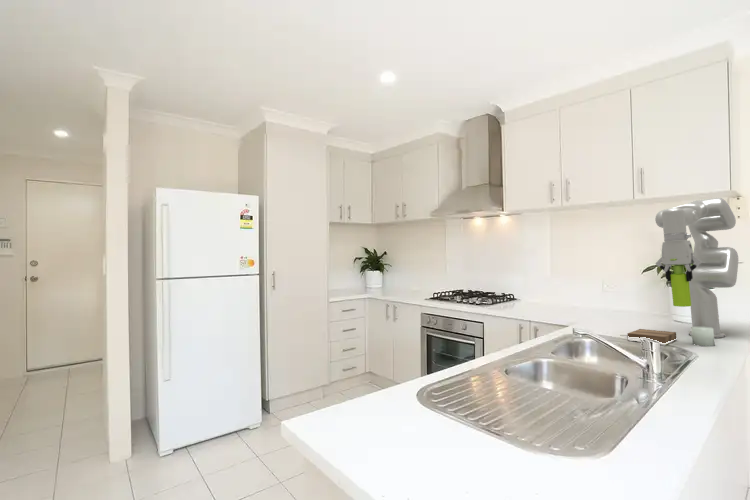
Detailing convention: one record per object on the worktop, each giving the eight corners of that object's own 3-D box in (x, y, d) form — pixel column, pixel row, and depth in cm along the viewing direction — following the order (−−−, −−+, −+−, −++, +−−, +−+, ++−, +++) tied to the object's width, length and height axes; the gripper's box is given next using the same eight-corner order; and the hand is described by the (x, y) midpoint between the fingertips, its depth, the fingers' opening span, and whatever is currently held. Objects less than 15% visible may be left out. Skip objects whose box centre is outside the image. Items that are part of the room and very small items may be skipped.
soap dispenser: (668, 306, 158) (664, 258, 159) (678, 304, 161) (673, 258, 162) (685, 307, 153) (680, 258, 154) (694, 305, 156) (689, 257, 157)
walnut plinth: (640, 336, 179) (639, 328, 179) (676, 340, 167) (676, 332, 168) (628, 341, 171) (627, 333, 171) (665, 345, 159) (664, 337, 159)
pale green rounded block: (695, 342, 162) (694, 325, 163) (716, 344, 157) (715, 327, 157) (690, 344, 158) (688, 328, 159) (712, 347, 153) (710, 329, 153)
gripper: (704, 236, 153) (708, 280, 153) (654, 239, 167) (658, 280, 167) (698, 236, 149) (703, 281, 148) (647, 240, 163) (651, 281, 162)
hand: (679, 280), depth 157 cm, fingers closed on soap dispenser, 5 cm apart
